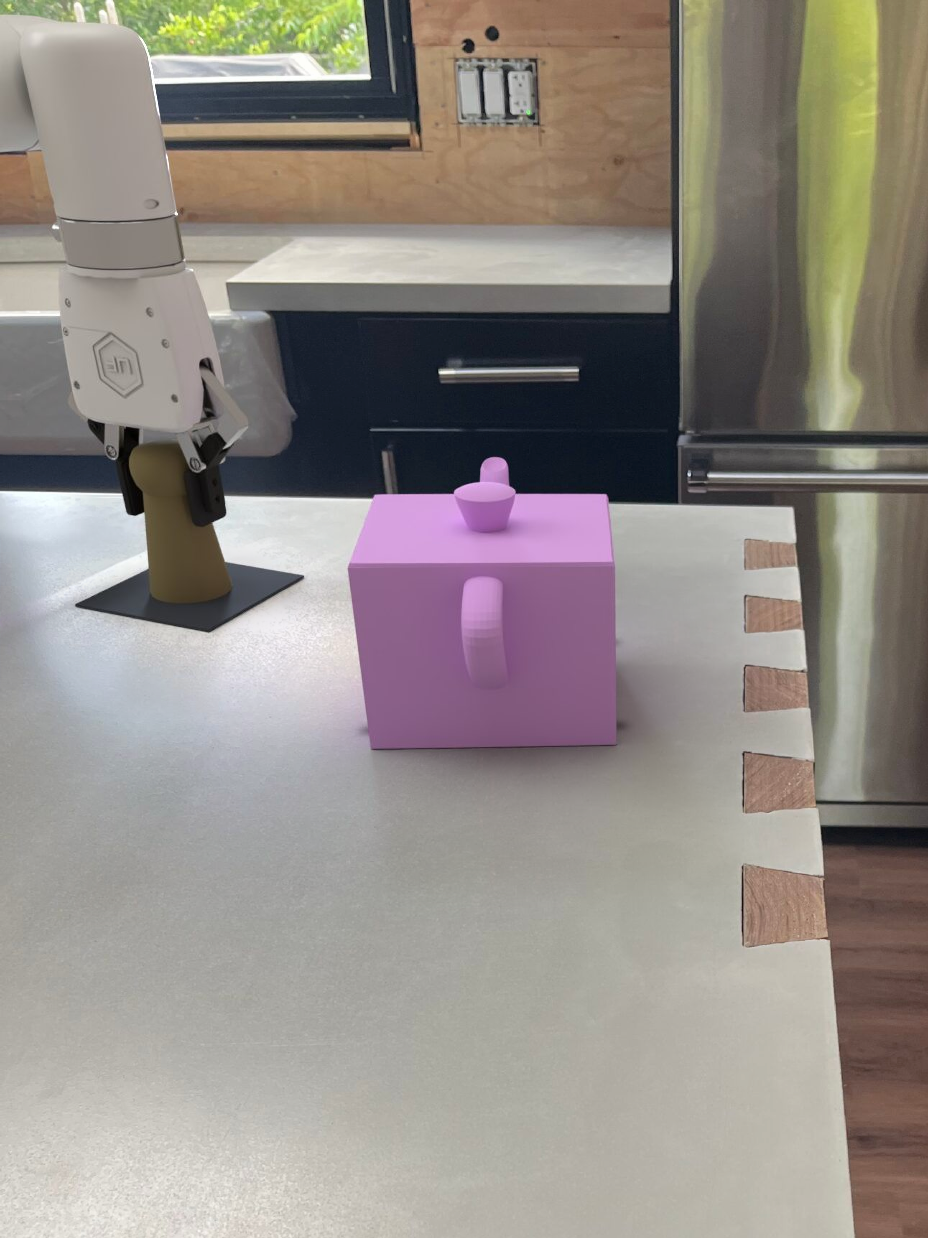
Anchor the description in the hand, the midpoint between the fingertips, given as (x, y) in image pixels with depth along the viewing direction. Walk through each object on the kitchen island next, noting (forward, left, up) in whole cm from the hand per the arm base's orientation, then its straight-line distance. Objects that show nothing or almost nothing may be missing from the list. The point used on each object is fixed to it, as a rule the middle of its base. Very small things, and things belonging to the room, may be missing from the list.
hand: (176, 513), depth 98 cm
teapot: (+30, -7, -6) cm, 32 cm away
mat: (0, 0, -6) cm, 6 cm away
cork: (0, 0, -6) cm, 6 cm away
